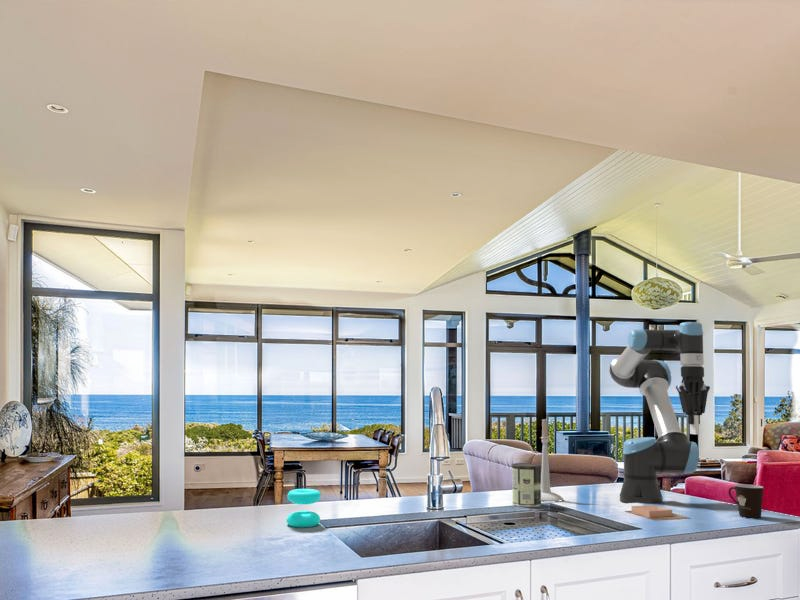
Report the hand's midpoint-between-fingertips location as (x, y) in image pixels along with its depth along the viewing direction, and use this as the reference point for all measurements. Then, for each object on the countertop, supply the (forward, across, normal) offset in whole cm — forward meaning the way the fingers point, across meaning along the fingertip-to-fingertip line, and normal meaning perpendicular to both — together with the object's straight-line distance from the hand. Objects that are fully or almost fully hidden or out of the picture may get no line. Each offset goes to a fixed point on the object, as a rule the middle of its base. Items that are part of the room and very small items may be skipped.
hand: (694, 434), depth 239 cm
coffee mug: (+27, +12, -10) cm, 31 cm away
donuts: (+27, -134, +13) cm, 137 cm away
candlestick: (+27, -38, +36) cm, 59 cm away
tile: (+25, -17, -3) cm, 30 cm away
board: (+26, -20, -4) cm, 33 cm away
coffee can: (+27, -51, +27) cm, 64 cm away
